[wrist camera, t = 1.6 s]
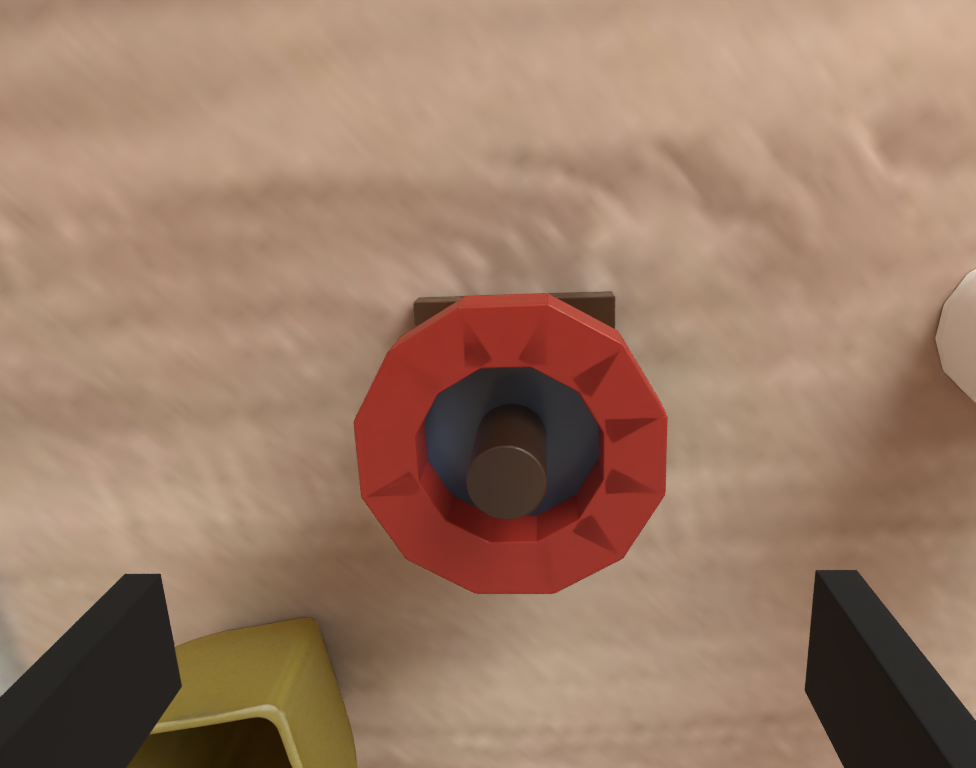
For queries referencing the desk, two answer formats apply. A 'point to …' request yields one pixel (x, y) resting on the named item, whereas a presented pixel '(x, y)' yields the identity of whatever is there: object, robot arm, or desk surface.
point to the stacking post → (513, 429)
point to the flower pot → (253, 704)
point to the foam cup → (960, 336)
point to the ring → (529, 539)
